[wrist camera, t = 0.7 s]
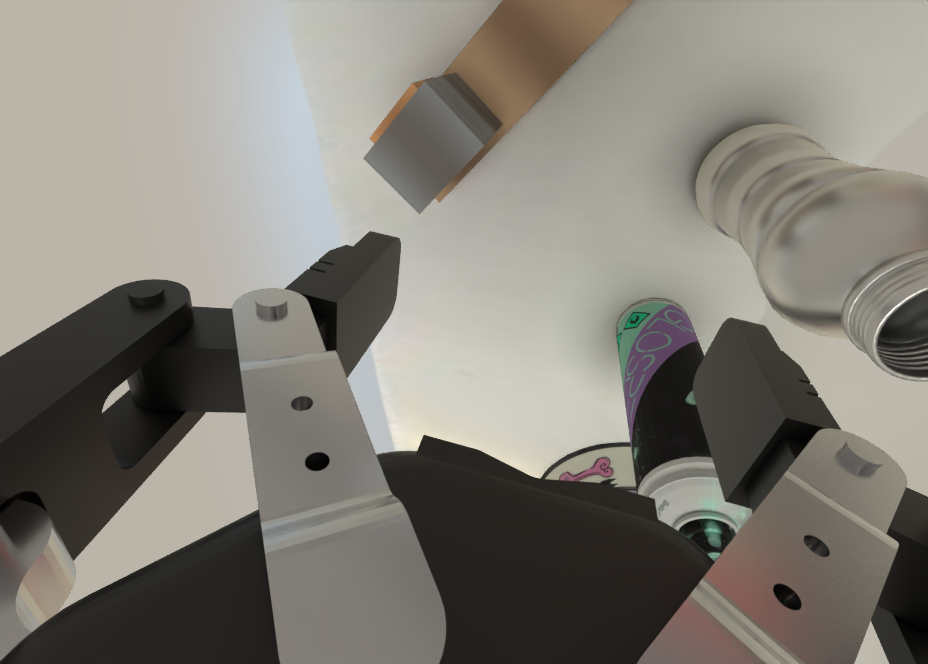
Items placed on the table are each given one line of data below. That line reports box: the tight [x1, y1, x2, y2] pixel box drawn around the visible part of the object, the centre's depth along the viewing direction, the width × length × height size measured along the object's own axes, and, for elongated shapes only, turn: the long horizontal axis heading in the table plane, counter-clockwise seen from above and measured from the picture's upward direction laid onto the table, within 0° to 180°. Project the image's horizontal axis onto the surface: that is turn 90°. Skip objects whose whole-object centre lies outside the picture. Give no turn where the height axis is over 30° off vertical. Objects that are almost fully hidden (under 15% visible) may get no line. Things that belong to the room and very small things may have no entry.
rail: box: [363, 0, 633, 214], centre depth 25 cm, size 22×5×10 cm, turn 136°
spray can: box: [616, 298, 752, 561], centre depth 29 cm, size 6×6×20 cm
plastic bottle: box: [695, 123, 928, 381], centre depth 22 cm, size 6×7×20 cm
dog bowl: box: [541, 442, 637, 494], centre depth 46 cm, size 18×19×7 cm
